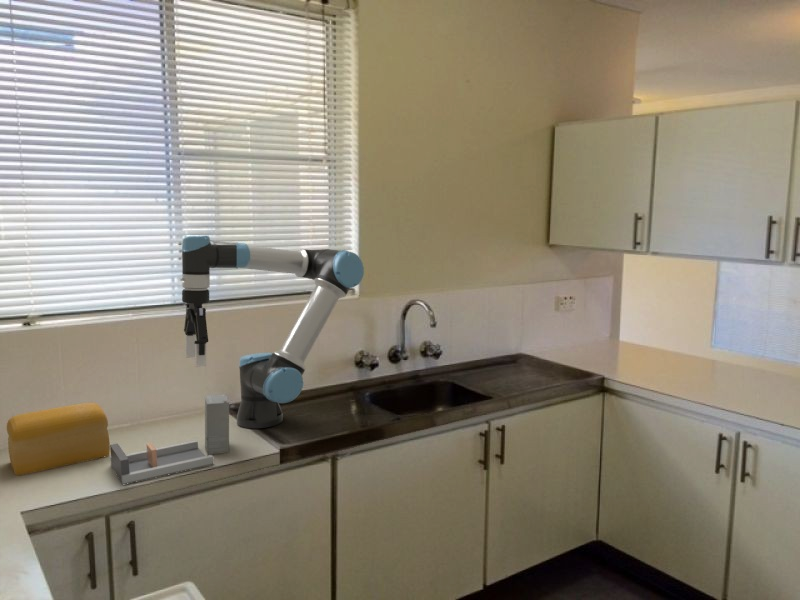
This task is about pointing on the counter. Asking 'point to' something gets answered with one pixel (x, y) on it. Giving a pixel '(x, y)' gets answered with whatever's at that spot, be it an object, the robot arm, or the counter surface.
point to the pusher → (151, 455)
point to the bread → (57, 437)
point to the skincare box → (216, 424)
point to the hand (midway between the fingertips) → (195, 361)
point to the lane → (167, 461)
